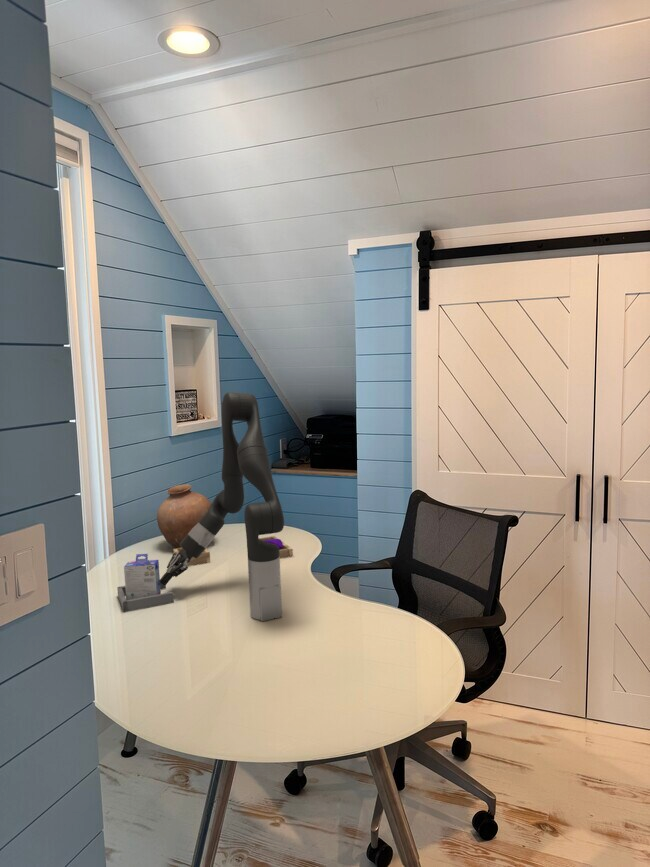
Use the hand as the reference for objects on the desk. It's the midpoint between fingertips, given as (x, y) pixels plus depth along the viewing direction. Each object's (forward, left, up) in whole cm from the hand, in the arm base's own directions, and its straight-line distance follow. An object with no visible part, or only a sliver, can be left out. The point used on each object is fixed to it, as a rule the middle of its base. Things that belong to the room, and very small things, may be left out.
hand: (161, 583), depth 192 cm
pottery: (+50, -19, -4) cm, 54 cm away
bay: (0, +6, -4) cm, 7 cm away
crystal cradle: (+25, -46, -4) cm, 53 cm away
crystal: (+26, -47, -4) cm, 54 cm away
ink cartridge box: (-1, +6, -4) cm, 7 cm away
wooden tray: (+30, -16, -4) cm, 34 cm away
